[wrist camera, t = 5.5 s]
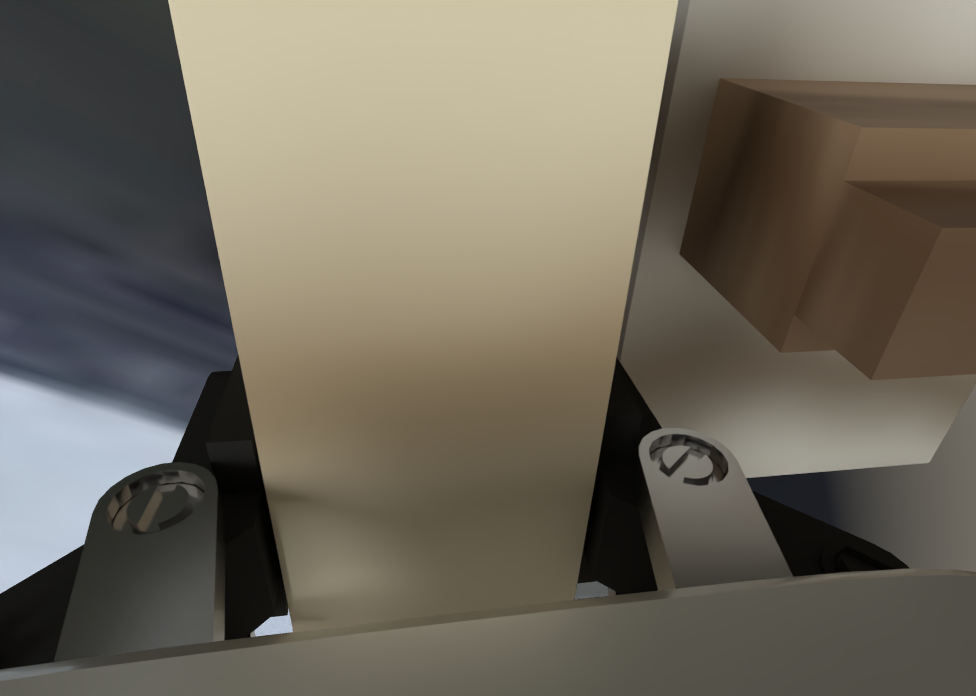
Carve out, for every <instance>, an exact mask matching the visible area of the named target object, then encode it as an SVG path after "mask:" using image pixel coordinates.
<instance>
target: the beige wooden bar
mask: <svg viewBox="0 0 976 696" xmlns="http://www.w3.org/2000/svg"><path fill="white" fill-rule="evenodd" d="M168 2H169V7H170V12H171V17H172V22H173V27H174V32H175V37H176V42H177V47H178V52H179V57H180V62H181V67H182V72H183V77H184V82H185V87H186V92H187V97H188V102H189V108H190V113H191V118H192V123H193V128H194V133H195V138H196V143H197V148H198V153H199V158H200V163H201V168H202V173H203V178H204V183H205V188H206V193H207V198H208V203H209V208H210V213H211V219H212V224H213V229H214V234H215V239H216V244H217V249H218V254H219V259H220V264H221V269H222V274H223V279H224V284H225V289H226V294H227V299H228V304H229V309H230V314H231V319H232V324H233V330H234V335H235V340H236V345H237V350H238V355H239V360H240V365H241V370H242V375H243V380H244V385H245V390H246V395H247V400H248V405H249V410H250V415H251V420H252V425H253V430H254V435H255V441H256V446H257V451H258V456H259V461H260V466H261V471H262V476H263V481H264V486H265V491H266V496H267V501H268V506H269V511H270V516H271V521H272V526H273V531H274V536H275V541H276V546H277V551H278V557H279V562H280V567H281V572H282V577H283V582H284V587H285V592H286V597H287V602H288V607H289V612H290V617H291V622H292V627H293V632H299V631H308V630H316V629H324V628H333V627H341V626H350V625H358V624H367V623H375V622H384V621H393V620H401V619H410V618H419V617H428V616H436V615H445V614H454V613H462V612H471V611H480V610H489V609H498V608H506V607H515V606H524V605H533V604H542V603H551V602H559V601H568V600H574V599H575V593H576V587H577V582H578V576H579V570H580V564H581V558H582V553H583V547H584V541H585V535H586V530H587V524H588V518H589V512H590V507H591V501H592V495H593V489H594V484H595V478H596V472H597V466H598V461H599V455H600V449H601V443H602V437H603V432H604V426H605V420H606V414H607V409H608V403H609V397H610V391H611V386H612V380H613V374H614V368H615V363H616V357H617V351H618V345H619V340H620V334H621V328H622V322H623V317H624V311H625V305H626V299H627V293H628V288H629V282H630V276H631V270H632V265H633V259H634V253H635V247H636V242H637V236H638V230H639V224H640V219H641V213H642V207H643V201H644V196H645V190H646V184H647V178H648V172H649V167H650V161H651V155H652V149H653V144H654V138H655V132H656V126H657V121H658V115H659V109H660V103H661V98H662V92H663V86H664V80H665V75H666V69H667V63H668V57H669V51H670V46H671V40H672V34H673V28H674V23H675V17H676V11H677V5H678V0H168Z"/></svg>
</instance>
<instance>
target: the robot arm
mask: <svg viewBox="0 0 976 696" xmlns="http://www.w3.org/2000/svg"><path fill="white" fill-rule="evenodd" d="M594 581H598V582H600V583H602V584H603V585H605V586H607V587H608V596H605V597H595V598H586V599H577V600H568V601H559V602H551V603H542V604H533V605H524V606H515V607H506V608H498V609H489V610H480V611H471V612H462V613H454V614H445V615H436V616H428V617H419V618H410V619H401V620H393V621H384V622H375V623H367V624H358V625H350V626H341V627H333V628H324V629H316V630H308V631H299V632H291V633H283V634H274V635H266V636H258V637H256V636H255V632H254V630H255V629H257V628H258V627H259V626H260V625H261V624H262V623H264V622H265V621H266V620H267V619H268V618H270V617H275V616H284V615H288V602H287V597H286V592H285V587H284V582H283V577H282V572H281V567H280V562H279V557H278V551H277V546H276V541H275V536H274V531H273V526H272V521H271V516H270V511H269V506H268V501H267V496H266V491H265V486H264V481H263V476H262V471H261V466H260V461H259V456H258V451H257V446H256V441H255V435H254V430H253V425H252V420H251V415H250V410H249V405H248V400H247V395H246V390H245V385H244V380H243V375H242V370H241V365H240V360H239V355H238V356H237V359H236V362H235V364H234V367H233V370H232V371H220V372H212V373H211V374H210V375H209V377H208V379H207V381H206V384H205V386H204V388H203V391H202V393H201V395H200V398H199V400H198V402H197V405H196V407H195V410H194V412H193V414H192V417H191V419H190V421H189V424H188V426H187V428H186V431H185V433H184V436H183V438H182V440H181V443H180V445H179V447H178V450H177V452H176V454H175V457H174V459H173V462H172V463H165V464H159V465H156V466H152V467H148V468H144V469H142V470H140V471H138V472H135V473H133V474H131V475H129V476H127V477H125V478H124V479H122V480H121V481H119V482H118V483H116V484H115V485H113V486H112V487H111V488H110V489H109V490H108V491H107V492H106V493H105V494H104V495H103V496H102V497H101V498H100V499H99V501H98V503H97V505H96V507H95V509H94V511H93V513H92V517H91V521H90V525H89V529H88V532H87V536H86V540H85V544H84V545H82V546H81V547H79V548H77V549H76V550H74V551H72V552H70V553H69V554H67V555H65V556H64V557H62V558H60V559H59V560H57V561H55V562H53V563H52V564H50V565H48V566H47V567H45V568H43V569H42V570H40V571H38V572H36V573H35V574H33V575H31V576H30V577H28V578H26V579H25V580H23V581H21V582H20V583H18V584H16V585H14V586H13V587H11V588H9V589H8V590H6V591H4V592H3V593H1V594H0V696H976V572H970V571H961V570H940V569H910V568H909V567H908V566H907V565H906V564H904V563H903V562H902V561H900V560H899V559H898V558H897V557H895V556H894V555H893V554H891V553H890V552H888V551H886V550H884V549H882V548H880V547H878V546H876V545H875V544H872V543H870V542H868V541H866V540H864V539H861V538H859V537H857V536H854V535H852V534H850V533H848V532H845V531H843V530H841V529H838V528H836V527H834V526H831V525H829V524H827V523H825V522H822V521H820V520H818V519H815V518H813V517H811V516H809V515H806V514H804V513H801V512H799V511H797V510H795V509H793V508H790V507H788V506H785V505H783V504H781V503H779V502H777V501H774V500H772V499H770V498H767V497H765V496H763V495H760V494H758V493H756V492H754V491H752V490H751V488H750V486H749V484H748V482H747V480H746V477H745V475H744V473H743V471H742V469H741V467H740V465H739V463H738V461H737V459H736V458H735V457H734V455H733V454H732V452H731V451H730V450H729V449H728V448H726V447H725V446H724V445H723V444H722V443H720V442H719V441H717V440H715V439H713V438H712V437H710V436H708V435H706V434H703V433H700V432H697V431H694V430H690V429H683V428H662V427H661V425H660V424H659V422H658V421H657V419H656V417H655V416H654V414H653V413H652V411H651V410H650V408H649V407H648V405H647V403H646V402H645V400H644V399H643V397H642V396H641V394H640V392H639V391H638V389H637V388H636V386H635V385H634V383H633V381H632V380H631V378H630V377H629V375H628V374H627V372H626V370H625V369H624V367H623V366H622V364H621V363H620V361H619V360H618V358H617V357H616V363H615V368H614V374H613V380H612V386H611V391H610V397H609V403H608V409H607V414H606V420H605V426H604V432H603V437H602V443H601V449H600V455H599V461H598V466H597V472H596V478H595V484H594V489H593V495H592V501H591V507H590V512H589V518H588V524H587V530H586V535H585V541H584V547H583V553H582V558H581V564H580V570H579V576H578V582H577V583H585V582H594Z"/></svg>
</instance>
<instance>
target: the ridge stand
mask: <svg viewBox="0 0 976 696" xmlns="http://www.w3.org/2000/svg"><path fill="white" fill-rule="evenodd" d="M617 358H618V360H619V361H620V363H621V364H622V366H623V367H624V369H625V370H626V372H627V374H628V375H629V377H630V378H631V380H632V381H633V383H634V385H635V386H636V388H637V389H638V391H639V392H640V394H641V396H642V397H643V399H644V400H645V402H646V403H647V405H648V407H649V408H650V410H651V411H652V413H653V414H654V416H655V417H656V419H657V421H658V422H659V424H660V425H661V427H662V428H683V429H690V430H694V431H697V432H700V433H703V434H706V435H708V436H710V437H712V438H713V439H715V440H717V441H719V442H720V443H722V444H723V445H724V446H725V447H726V448H728V449H729V450H730V451H731V452H732V454H733V455H734V457H735V458H736V459H737V461H738V463H739V465H740V467H741V469H742V471H743V473H744V475H745V477H746V478H752V477H764V476H776V475H788V474H800V473H811V472H824V471H835V470H848V469H860V468H872V467H884V466H896V465H908V464H920V463H929V462H930V461H931V459H932V457H933V455H934V454H935V452H936V450H937V449H938V447H939V445H940V443H941V442H942V440H943V438H944V437H945V435H946V433H947V432H948V430H949V428H950V426H951V425H952V423H953V421H954V419H955V418H956V416H957V414H958V413H959V411H960V409H961V408H962V406H963V404H964V402H965V401H966V399H967V397H968V396H969V394H970V392H971V391H972V389H973V387H974V385H975V384H976V0H678V5H677V11H676V17H675V23H674V28H673V34H672V40H671V46H670V51H669V57H668V63H667V69H666V75H665V80H664V86H663V92H662V98H661V103H660V109H659V115H658V121H657V126H656V132H655V138H654V144H653V149H652V155H651V161H650V167H649V172H648V178H647V184H646V190H645V196H644V201H643V207H642V213H641V219H640V224H639V230H638V236H637V242H636V247H635V253H634V259H633V265H632V270H631V276H630V282H629V288H628V293H627V299H626V305H625V311H624V317H623V322H622V328H621V334H620V340H619V345H618V351H617Z"/></svg>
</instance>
